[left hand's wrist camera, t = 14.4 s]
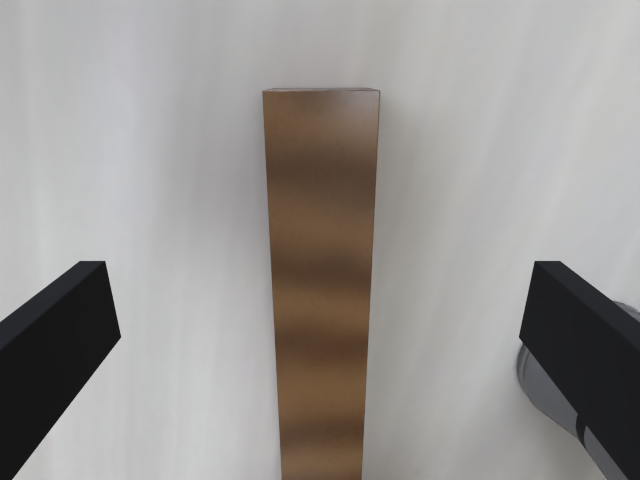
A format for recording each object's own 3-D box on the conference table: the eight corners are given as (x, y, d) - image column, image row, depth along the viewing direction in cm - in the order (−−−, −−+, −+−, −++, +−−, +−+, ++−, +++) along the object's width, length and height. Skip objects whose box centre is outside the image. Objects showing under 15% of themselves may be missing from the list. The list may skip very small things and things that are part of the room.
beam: (273, 88, 37) (262, 90, 30) (369, 88, 37) (380, 90, 30) (292, 556, 60) (288, 617, 53) (350, 556, 60) (354, 617, 53)
